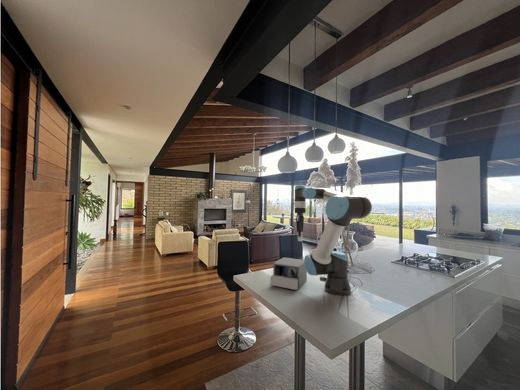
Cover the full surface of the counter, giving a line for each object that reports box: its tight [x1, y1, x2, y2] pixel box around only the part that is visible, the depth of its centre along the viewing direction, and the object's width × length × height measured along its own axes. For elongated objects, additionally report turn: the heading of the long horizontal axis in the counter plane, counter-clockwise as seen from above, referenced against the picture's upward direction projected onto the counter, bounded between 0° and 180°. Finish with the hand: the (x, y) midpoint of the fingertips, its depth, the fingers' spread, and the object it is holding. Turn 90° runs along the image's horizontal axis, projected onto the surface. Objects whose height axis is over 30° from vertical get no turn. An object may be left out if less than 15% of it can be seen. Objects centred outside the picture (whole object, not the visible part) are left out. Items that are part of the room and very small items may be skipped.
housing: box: [272, 257, 308, 290], centre depth 148 cm, size 17×18×14 cm
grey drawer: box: [270, 274, 298, 291], centre depth 144 cm, size 17×21×6 cm
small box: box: [282, 266, 297, 279], centre depth 147 cm, size 11×6×10 cm, turn 64°
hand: (300, 241), depth 154 cm, fingers closed
